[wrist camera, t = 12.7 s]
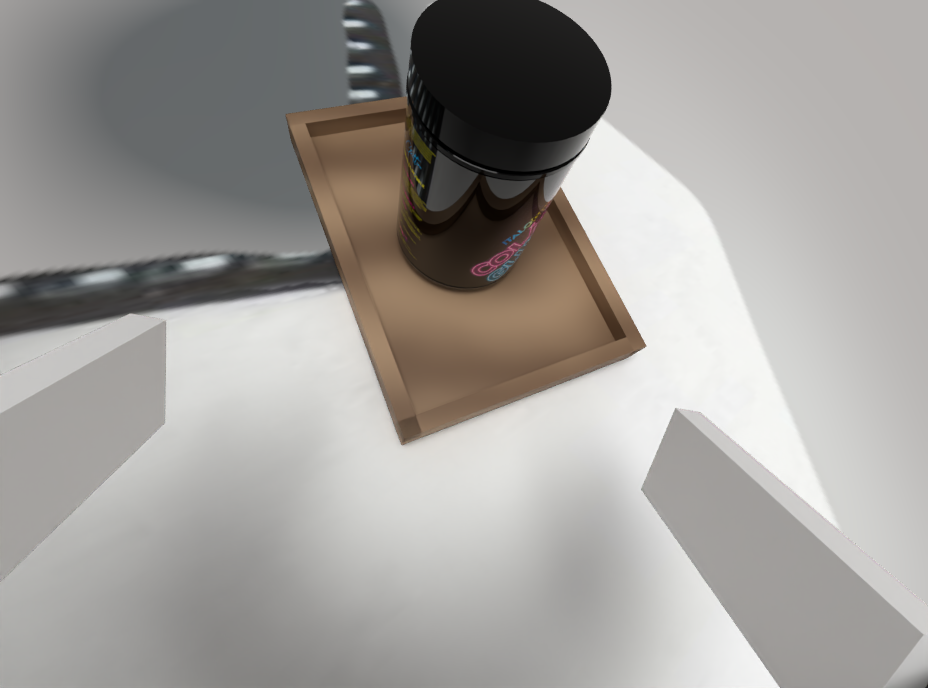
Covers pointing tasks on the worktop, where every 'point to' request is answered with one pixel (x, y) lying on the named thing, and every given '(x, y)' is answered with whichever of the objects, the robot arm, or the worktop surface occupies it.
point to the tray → (444, 309)
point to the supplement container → (491, 132)
